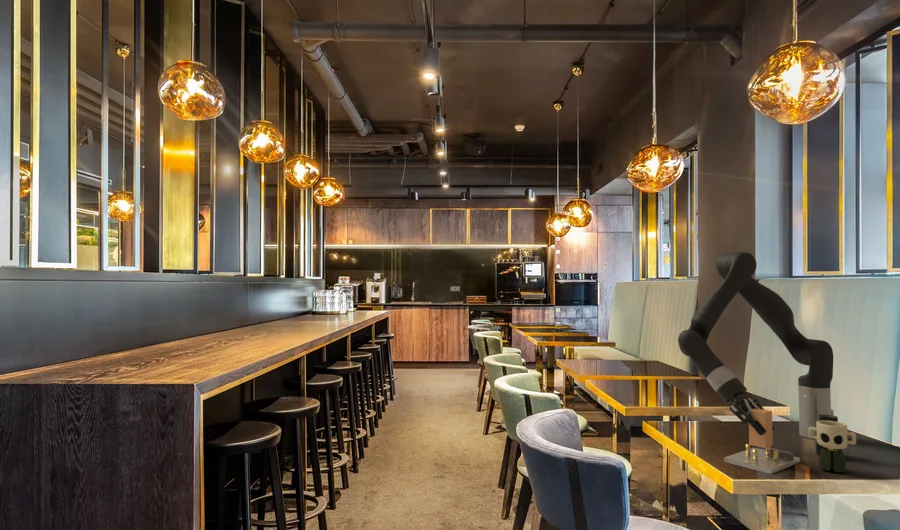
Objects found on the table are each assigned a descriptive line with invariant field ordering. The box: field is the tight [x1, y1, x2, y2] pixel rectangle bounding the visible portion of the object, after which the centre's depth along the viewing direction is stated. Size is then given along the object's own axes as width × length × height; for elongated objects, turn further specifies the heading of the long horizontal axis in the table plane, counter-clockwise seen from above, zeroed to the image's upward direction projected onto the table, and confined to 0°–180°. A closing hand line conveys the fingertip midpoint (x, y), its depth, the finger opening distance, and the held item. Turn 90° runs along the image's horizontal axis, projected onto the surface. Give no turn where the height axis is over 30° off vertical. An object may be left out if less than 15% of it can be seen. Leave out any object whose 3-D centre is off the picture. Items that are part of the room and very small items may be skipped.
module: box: [748, 408, 774, 449], centre depth 160 cm, size 4×4×10 cm
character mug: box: [808, 421, 857, 473], centre depth 153 cm, size 11×7×13 cm, turn 54°
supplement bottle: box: [814, 414, 843, 457], centre depth 166 cm, size 7×7×12 cm
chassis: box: [723, 443, 801, 475], centre depth 160 cm, size 18×13×4 cm
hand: (767, 432), depth 158 cm, fingers closed on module, 4 cm apart
